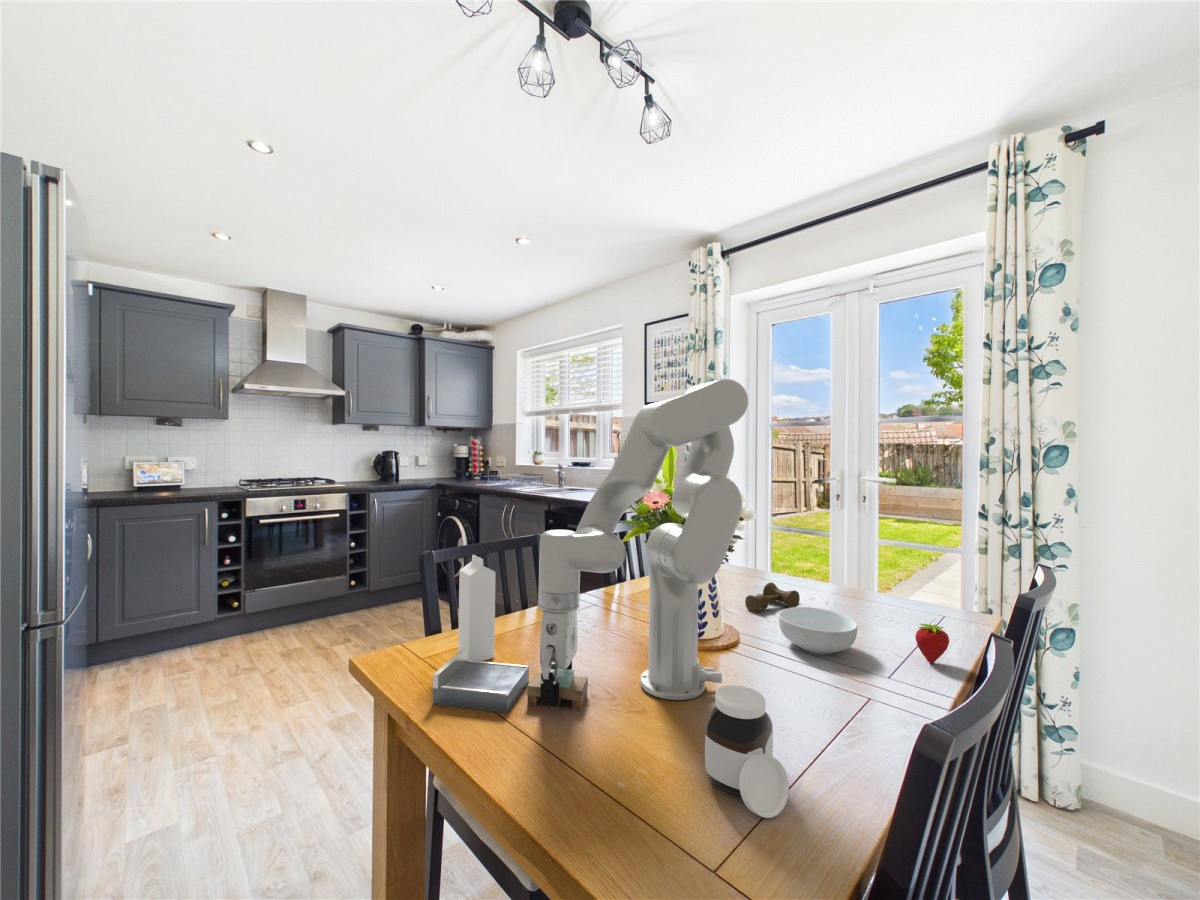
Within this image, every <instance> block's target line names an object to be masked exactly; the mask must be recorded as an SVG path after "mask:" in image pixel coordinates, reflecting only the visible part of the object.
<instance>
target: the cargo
mask: <svg viewBox="0 0 1200 900" xmlns="http://www.w3.org/2000/svg"><path fill="white" fill-rule="evenodd" d="M550 672H552V673H553V675H554V673H555V670H553V669H551V671H550ZM574 676H575V670H574V669H572V670H570V669H565V670H563V669H560V670H559V676H558V683H559V687H564V688H569V687H570V685H571V683H572V681H573V679H574Z"/></svg>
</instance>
